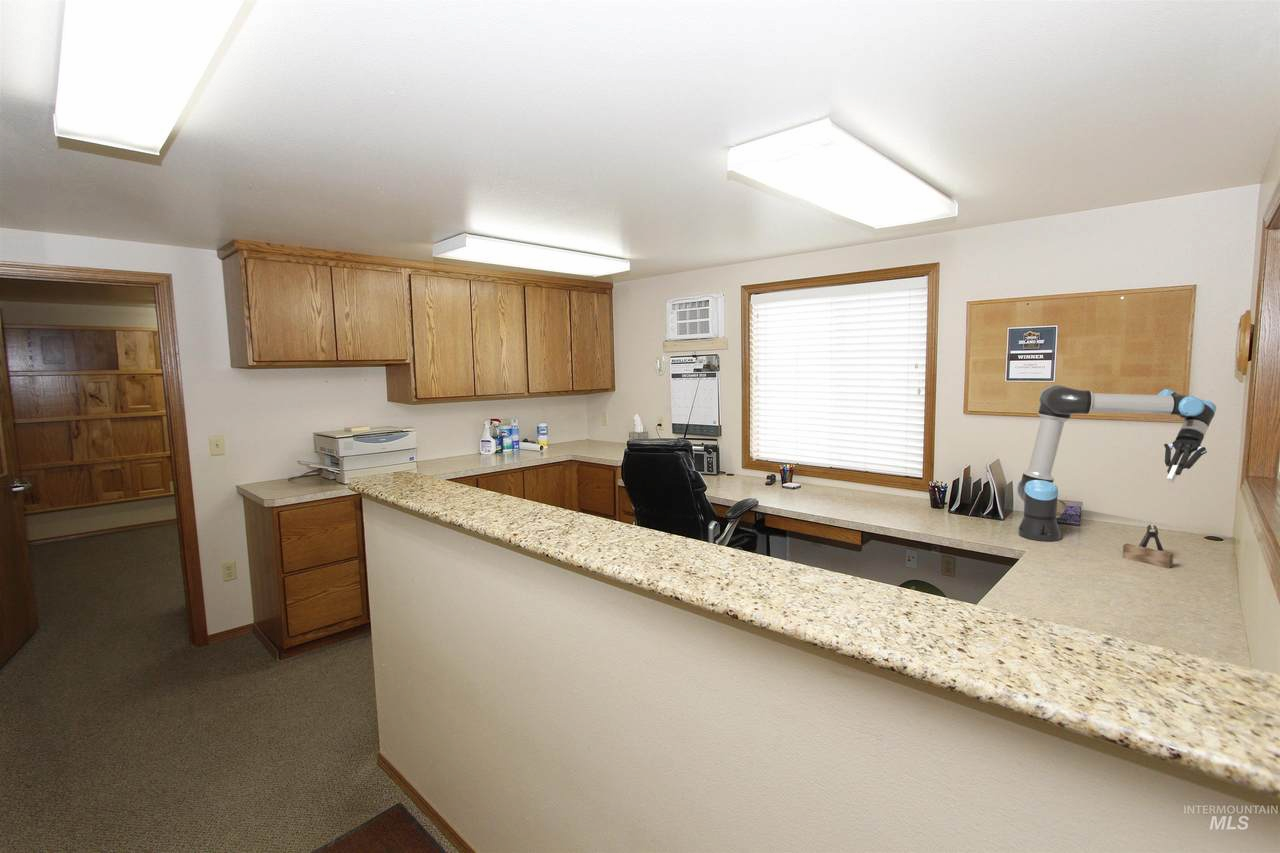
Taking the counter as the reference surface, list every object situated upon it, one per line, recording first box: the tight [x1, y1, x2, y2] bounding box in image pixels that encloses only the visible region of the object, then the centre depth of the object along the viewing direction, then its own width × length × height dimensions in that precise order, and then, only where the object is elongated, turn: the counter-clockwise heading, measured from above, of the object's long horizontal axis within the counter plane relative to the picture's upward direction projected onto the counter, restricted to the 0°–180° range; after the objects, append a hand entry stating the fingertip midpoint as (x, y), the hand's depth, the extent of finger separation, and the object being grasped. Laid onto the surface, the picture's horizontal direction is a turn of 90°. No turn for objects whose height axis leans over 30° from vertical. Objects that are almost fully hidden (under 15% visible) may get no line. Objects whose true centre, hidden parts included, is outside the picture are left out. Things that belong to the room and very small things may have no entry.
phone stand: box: [1138, 524, 1165, 552], centre depth 223 cm, size 9×6×12 cm, turn 51°
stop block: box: [1122, 543, 1174, 569], centre depth 218 cm, size 14×3×5 cm, turn 29°
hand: (1170, 480), depth 227 cm, fingers closed
